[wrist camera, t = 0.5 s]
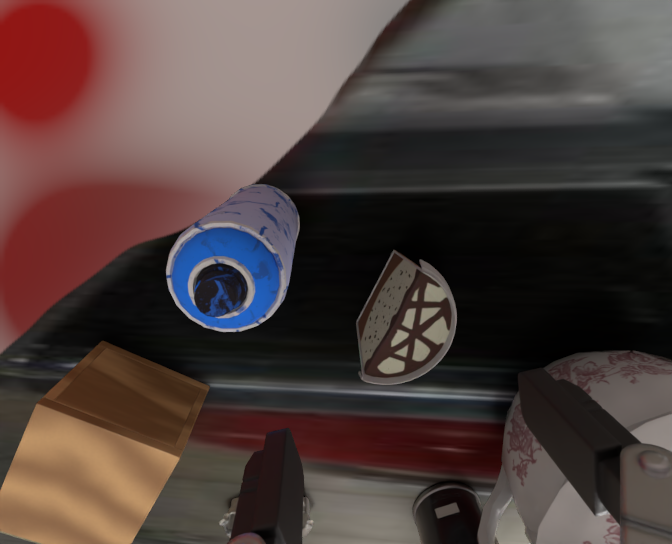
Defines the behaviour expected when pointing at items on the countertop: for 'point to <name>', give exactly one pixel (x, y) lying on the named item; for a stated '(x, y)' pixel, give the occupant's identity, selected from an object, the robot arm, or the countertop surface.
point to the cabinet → (99, 450)
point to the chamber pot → (543, 474)
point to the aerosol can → (236, 260)
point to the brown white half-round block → (405, 322)
